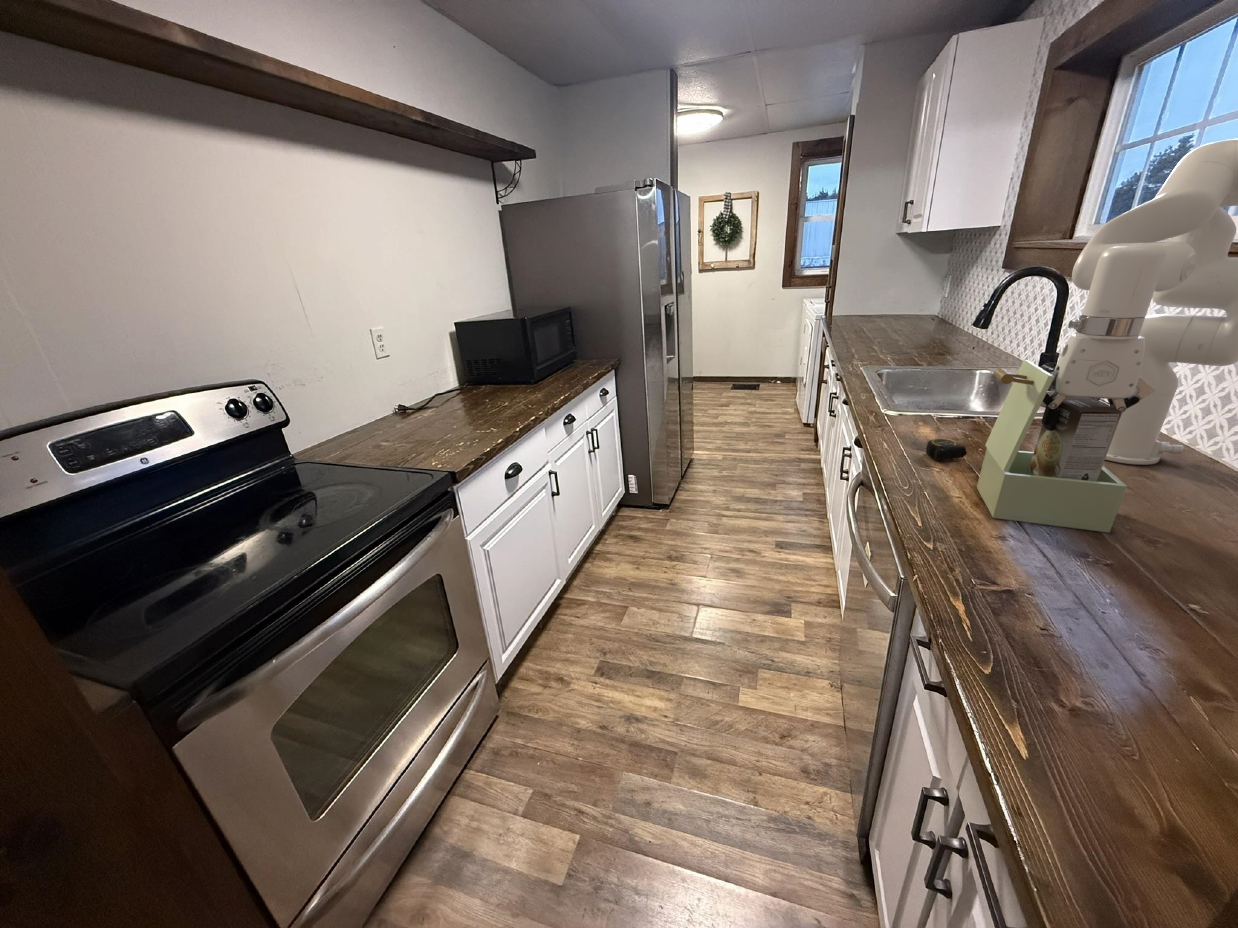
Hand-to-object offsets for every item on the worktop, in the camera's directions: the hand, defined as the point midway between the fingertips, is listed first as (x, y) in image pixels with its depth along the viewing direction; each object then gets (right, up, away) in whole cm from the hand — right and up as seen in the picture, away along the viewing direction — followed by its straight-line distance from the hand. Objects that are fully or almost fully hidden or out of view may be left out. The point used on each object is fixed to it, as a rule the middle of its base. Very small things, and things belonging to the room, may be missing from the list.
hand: (1075, 429), depth 88 cm
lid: (-8, +3, +3) cm, 9 cm away
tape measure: (-3, -5, +31) cm, 31 cm away
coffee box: (+1, -10, +4) cm, 11 cm away
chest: (-1, -15, +7) cm, 16 cm away
